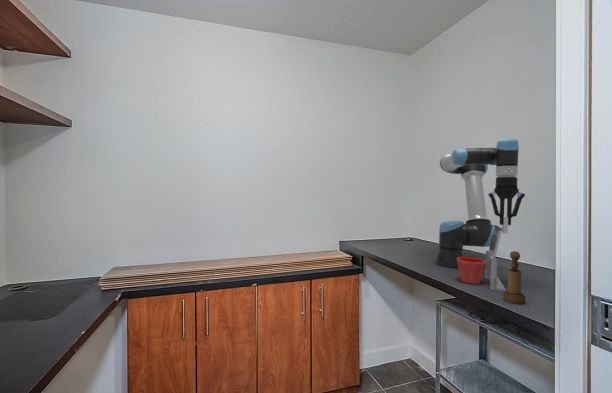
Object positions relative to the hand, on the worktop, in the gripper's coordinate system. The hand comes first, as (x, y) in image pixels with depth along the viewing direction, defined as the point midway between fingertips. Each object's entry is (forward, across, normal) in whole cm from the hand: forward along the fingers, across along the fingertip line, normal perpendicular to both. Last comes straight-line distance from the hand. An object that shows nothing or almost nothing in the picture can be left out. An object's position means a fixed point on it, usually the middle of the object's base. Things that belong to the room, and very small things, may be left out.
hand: (504, 232), depth 124 cm
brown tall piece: (+22, 0, -19) cm, 30 cm away
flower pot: (+23, -12, 0) cm, 26 cm away
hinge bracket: (+22, -3, 0) cm, 23 cm away
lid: (+4, -4, 0) cm, 6 cm away
